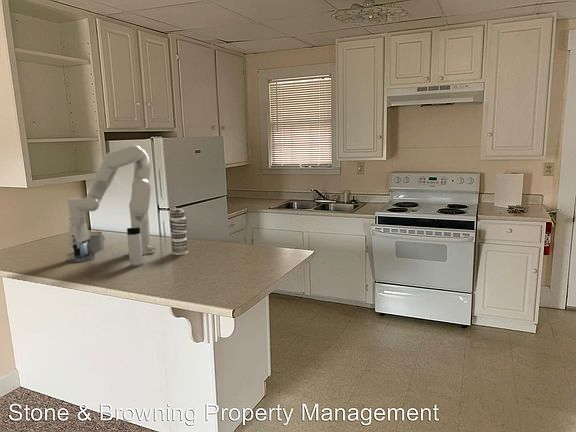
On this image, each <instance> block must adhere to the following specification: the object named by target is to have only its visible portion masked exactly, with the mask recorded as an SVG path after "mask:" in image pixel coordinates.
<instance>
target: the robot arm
mask: <svg viewBox="0 0 576 432" xmlns="http://www.w3.org/2000/svg"><path fill="white" fill-rule="evenodd" d="M130 164H133V165H134V166H133V178H132V183H131V196H130V201H129V204H128V205H129V206H128V208H129V217H130V228H136V227H140V234H141V246H142V256H144V255H149V254H153V253H154V251H157V249H158V248H157V245H153V243H151V232H150V220H149V209H150V200H151V193H152V192H151V191H152V186H151V183H150V182H151V181H150V180H151V179H150V178H151V159H150V157H149V155H148V153H147V152H146V150H145V149H143V147H141V146H140V145H138V144H130V145H128V146H126V147H124V148H120V149H119V150H118V149H117V150H115V151H109V152H107V153H106V154H105V156H104V158H103V160H102V162H101V164H100V166H99V168H98V170H97V173H96V174H95V176H94V179H93V182H92V184H91V187H90V189H89V191H88V193H87V195H86V197H84V198H82V197H71V198H68V200H67V207H68V216H69V226H68V228H69V229H68V236H69V237H68V238H69V245H70V247H72V249H73V252H74V253H73V254H74V255H75V256H80V248H79V243H82V242H85V243H87V252H88V242H89V239H90V236H89V234H88V232H89V230H88V224H87V221H86V212H94V211H97V210H98V209H99V207H100V203H101V202H102V200H103V198H104V195H105V193H106V191H107V190H108V188H109V187H110V186H111V184H112V182H113V180H114V179H115V176H116V174H117V172H118V170H119V168H121V167H124V166H127V165H130ZM75 244H77V246H76V245H75Z"/></svg>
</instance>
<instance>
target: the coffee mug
mask: <svg viewBox="0 0 576 432" xmlns="http://www.w3.org/2000/svg"><path fill="white" fill-rule="evenodd" d="M88 234H89V236H90V239H89V242H88V252H93V253H98V252H102V251H104V250H105V243H104V242H105V239H106V238H105V234H104V233H103V232H102V231H96V230H95V231H88Z"/></svg>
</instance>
